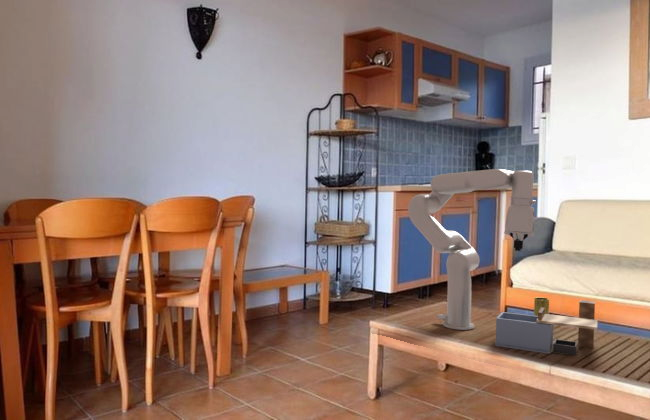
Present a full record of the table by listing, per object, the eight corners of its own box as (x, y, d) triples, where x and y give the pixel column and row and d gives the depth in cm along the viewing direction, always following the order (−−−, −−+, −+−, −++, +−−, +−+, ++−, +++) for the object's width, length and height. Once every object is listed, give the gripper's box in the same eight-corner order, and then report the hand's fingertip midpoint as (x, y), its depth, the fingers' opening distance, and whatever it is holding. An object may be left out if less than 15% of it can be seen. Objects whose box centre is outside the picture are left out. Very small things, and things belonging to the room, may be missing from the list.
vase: (550, 337, 200) (551, 300, 200) (533, 336, 201) (535, 299, 201) (547, 333, 206) (548, 297, 206) (530, 332, 207) (532, 296, 207)
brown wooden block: (577, 345, 189) (579, 302, 189) (578, 342, 193) (579, 299, 193) (593, 347, 187) (594, 303, 186) (593, 344, 191) (594, 301, 191)
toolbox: (495, 345, 187) (496, 318, 187) (501, 338, 197) (502, 311, 197) (549, 353, 178) (550, 324, 178) (552, 345, 189) (553, 318, 189)
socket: (553, 352, 180) (553, 343, 180) (554, 347, 186) (555, 339, 186) (576, 355, 177) (576, 347, 176) (577, 350, 183) (577, 342, 183)
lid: (536, 322, 180) (536, 312, 180) (540, 315, 191) (540, 306, 191) (597, 329, 171) (597, 319, 171) (597, 322, 182) (597, 312, 182)
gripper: (543, 204, 198) (540, 251, 199) (503, 201, 206) (500, 247, 206) (540, 204, 191) (537, 253, 192) (498, 201, 199) (495, 249, 200)
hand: (517, 250), depth 199 cm, fingers closed
